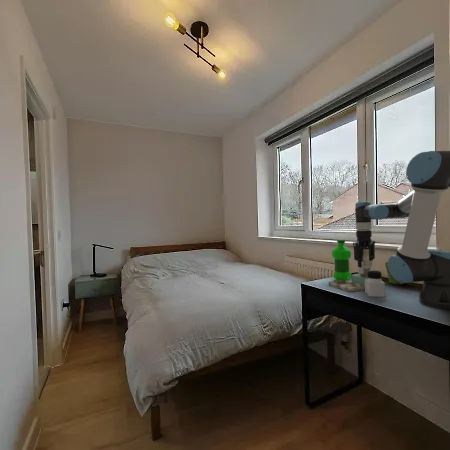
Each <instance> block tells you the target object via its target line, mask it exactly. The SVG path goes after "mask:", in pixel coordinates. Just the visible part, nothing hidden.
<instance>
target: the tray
mask: <svg viewBox="0 0 450 450" xmlns="http://www.w3.org/2000/svg"><path fill="white" fill-rule="evenodd" d="M328 286H331V287H334V288H337V289H340V290H342V291H345V292H348V293H354V292H359V291H365V285H361V284H358V283H354V282H352V280H349V281H348V280H339V281H337V280H333V281H328Z"/></svg>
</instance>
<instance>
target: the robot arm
mask: <svg viewBox="0 0 450 450" xmlns="http://www.w3.org/2000/svg"><path fill="white" fill-rule="evenodd" d="M405 176H406V178H407V180H408V182H409V183H410V187H411V188H412V191H411V192H409V193H408V194H406V195H405V196H404V197H403V198H401V199H399V200H398V201H396V202H395V203H384V204H383V203H381V204H380V203H376V204H371V202H370V201H358V202H356V203H355V206H354V207H355V208H354V212H355V230H356V231H355V236H356V238H357V239H356V241H355V242H352V246H353V260H354V261H356V262H357V268H358V274H361V273H362V274H364V264H363V261H362V258H363V250H364V249H369V270H372V265H373V264H372V262H373V261H374V260H375V258H376V254H375V253H376V252H375V250H376V249H375V245H376V240H372V235H373V234H372V220H375V221H376V220H377V221H379V220H388V219H389V220H390V219H405V218H407V222H406V228H405V232H404V237H403V241H402V245H401V246H399V247H397V249H396V254H392V255H391V256H389V258H388V260H387V262H388V268H389V271H390V273H391V275H392V276H393V278H394V279H396V280H397V281H399V282H405V283H408V284H410V283H417V282H419V283H420V282H423V285H422V288H421V289H420V293H419V296H418V302H419V303H420V304H423V305H424V306H427V307H432V308H437V309H443V310H450V251H446V250H440V249H439V250H437V249H436V250H435V249H428V248H429V243H430V241H431V236H432V232H433V227H434V224H435V220H436V216H437V213H438V209H439V204H440V200H441V196H442V193H444V192H446V191H447V190H448V189H450V150H430V151H422V152H418V153H417V154H415V155H414V156H413V157H412V158H410V160H409V162H408V164H407V166H406V170H405Z"/></svg>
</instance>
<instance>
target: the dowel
mask: <svg viewBox="0 0 450 450" xmlns="http://www.w3.org/2000/svg"><path fill="white" fill-rule="evenodd" d="M362 261H363V264H364V274H362V273H360V274H361V276H362V277H368V274H367V272H368V271H370V270H369V249H364V250H363V258H362Z"/></svg>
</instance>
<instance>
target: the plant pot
mask: <svg viewBox="0 0 450 450" xmlns="http://www.w3.org/2000/svg"><path fill="white" fill-rule="evenodd" d="M383 264H384V265H385V268H386V273H387V278H388V282H389V283H390V284H393V285H405V283H406V282H399V281H397V280H396V279H394V278H393V276H392V275H391V273H390V271H389V268H388V261H386V262H383Z"/></svg>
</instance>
